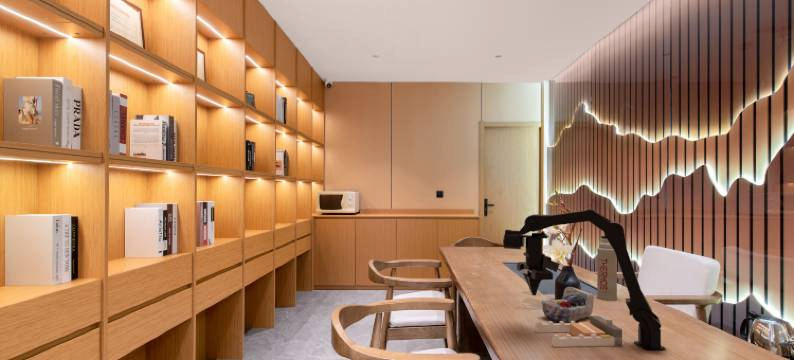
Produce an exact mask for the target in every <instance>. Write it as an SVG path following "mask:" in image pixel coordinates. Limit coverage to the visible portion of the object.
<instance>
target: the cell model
mask: <svg viewBox="0 0 794 360" xmlns="http://www.w3.org/2000/svg"><path fill="white" fill-rule="evenodd" d="M594 300H595V299H594V294H593V293H591V292H587V291H585V290H581V289H579V288H576V287H573V286H568V287H565V288H564V290H563V295H562V298H561V299H548V300H541V306H542V309H541V310H542V312H543V314H544V317H546V318H548V319H550V320H551V321H552V320H553V321H554V322H560V321H563V322H564V323H571V321H574V322H576V323H577V321H579V320H582V319H585V318H587V317H590V316H592V313H593V309H594V304H595V303H594Z"/></svg>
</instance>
